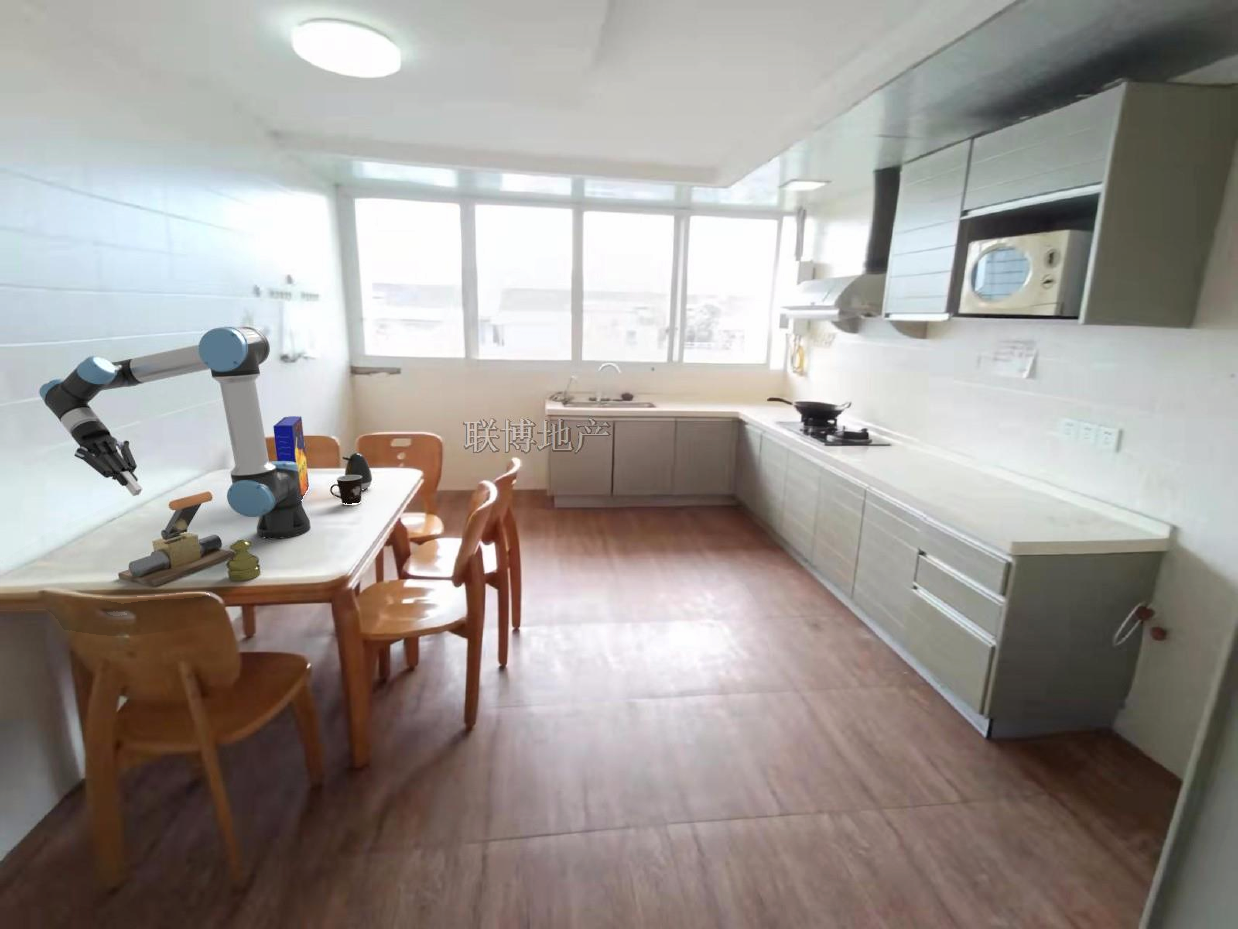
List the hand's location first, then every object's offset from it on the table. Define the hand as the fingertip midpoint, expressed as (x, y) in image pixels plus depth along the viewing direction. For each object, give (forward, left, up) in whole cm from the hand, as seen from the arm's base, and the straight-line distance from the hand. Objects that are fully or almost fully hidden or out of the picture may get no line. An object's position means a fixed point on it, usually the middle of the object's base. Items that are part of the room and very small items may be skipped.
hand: (137, 492), depth 165 cm
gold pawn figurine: (-27, +20, -20) cm, 39 cm away
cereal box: (-29, -57, -20) cm, 68 cm away
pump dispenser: (-51, -62, -20) cm, 83 cm away
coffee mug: (-48, -42, -20) cm, 67 cm away
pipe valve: (-9, +8, -20) cm, 23 cm away
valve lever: (-8, +7, -11) cm, 16 cm away
